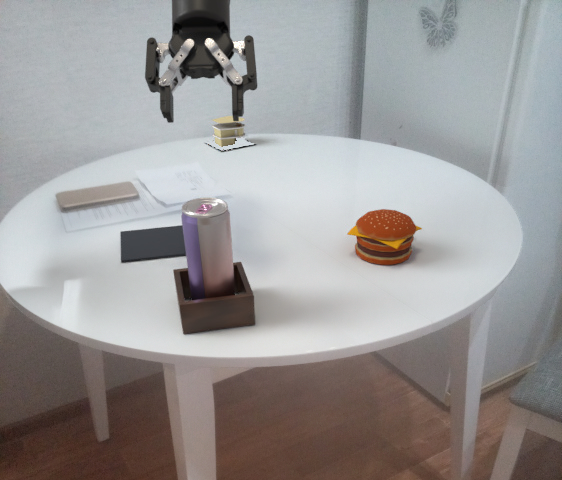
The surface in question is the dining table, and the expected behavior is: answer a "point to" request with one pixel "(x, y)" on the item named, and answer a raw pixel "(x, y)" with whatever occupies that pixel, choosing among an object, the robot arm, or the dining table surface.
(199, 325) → the box
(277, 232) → the dining table surface
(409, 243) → the hamburger
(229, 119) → the stacked layers on plate
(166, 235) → the mat
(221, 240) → the beverage can
